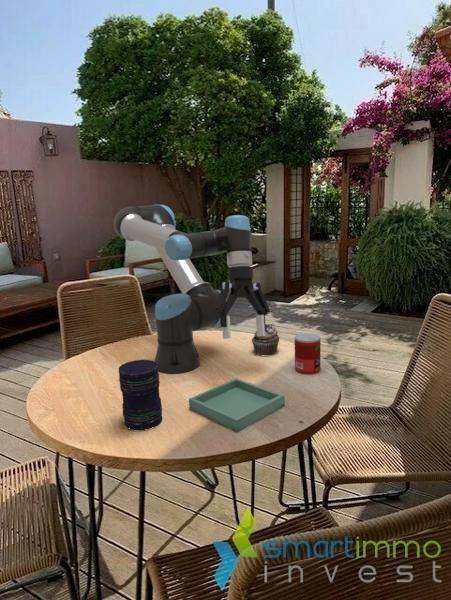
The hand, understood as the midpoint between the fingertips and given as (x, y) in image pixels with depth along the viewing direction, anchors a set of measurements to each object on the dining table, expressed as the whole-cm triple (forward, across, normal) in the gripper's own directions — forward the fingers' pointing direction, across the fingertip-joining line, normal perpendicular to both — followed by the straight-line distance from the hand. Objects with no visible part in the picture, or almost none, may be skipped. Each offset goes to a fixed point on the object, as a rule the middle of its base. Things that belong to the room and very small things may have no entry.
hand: (244, 337), depth 138 cm
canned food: (+12, +21, -5) cm, 25 cm away
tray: (+18, -11, -8) cm, 23 cm away
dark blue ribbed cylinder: (+20, -33, +4) cm, 39 cm away
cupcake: (+6, +23, +15) cm, 28 cm away
